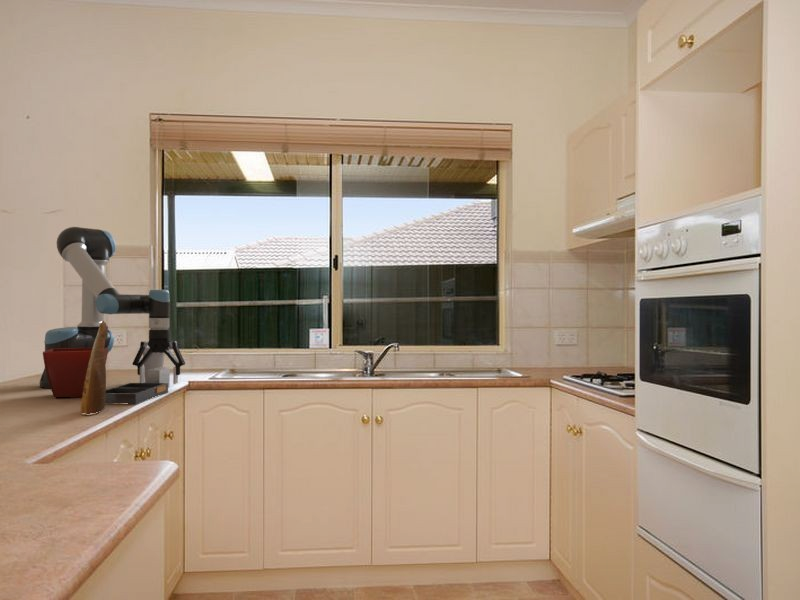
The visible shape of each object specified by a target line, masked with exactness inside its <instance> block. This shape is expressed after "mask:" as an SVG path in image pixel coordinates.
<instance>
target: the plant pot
mask: <svg viewBox="0 0 800 600" xmlns="http://www.w3.org/2000/svg"><path fill="white" fill-rule="evenodd" d="M104 351H105V366H106V364H107V359H108V354H109V353H108V347H104ZM91 352H92V348H60V349H50V350H47V351H45V350H44V351H42V358H43V363H44V368H45V369H46V374H47V378H48V381H49V384H50V388H49V389H51V393H52V396H53V398H54V397H71V398H82V395H83V389H84V383H85V378H86V373H87V369H88V364H89V360H90V356H91ZM107 353H108V354H107Z"/></svg>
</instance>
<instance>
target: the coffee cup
mask: <svg viewBox="0 0 800 600" xmlns="http://www.w3.org/2000/svg"><path fill="white" fill-rule="evenodd" d="M149 349H150V347H149V346H147V347H146V348H145V350H144V352H143V354H142V358H143V357H144V356H145V354H146V353H147V351H148V350H149ZM165 355H166V354H165V353H159V352H158V353H152V354H151V356H150V357H149V358H148V359H147V361H146V362H145V363H144V364H143V366H145V383H148V370H150V369H154V368H158V367H164V365H165V363H164V361H165Z"/></svg>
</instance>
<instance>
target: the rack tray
mask: <svg viewBox="0 0 800 600" xmlns="http://www.w3.org/2000/svg"><path fill="white" fill-rule="evenodd" d="M167 393H169V388H168V383H140V382H127V383H123V384H121V385H118V386H117V385H116V386H113V387H110V388H106V396H105V403H128V404H127V405H138V404H140V403H139V402H141V403H143V402H146V401H148V400H147V399H149V400H151V399H150V398H152V397H154V398H156V397H155V396H157V397H159V396H158V395H160V396H162V395H165V394H167ZM152 399H153V398H152ZM145 400H146V401H145ZM142 401H143V402H142ZM137 403H138V404H137Z"/></svg>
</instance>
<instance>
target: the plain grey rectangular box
mask: <svg viewBox="0 0 800 600" xmlns="http://www.w3.org/2000/svg"><path fill="white" fill-rule="evenodd" d="M170 370H171V369H170V366H169V367H166V366H165V367H164V366H163V367H158V368H154V369H150V370H148V383H168V389H169V388H170V379H171V378H170V372H171V371H170Z"/></svg>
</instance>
